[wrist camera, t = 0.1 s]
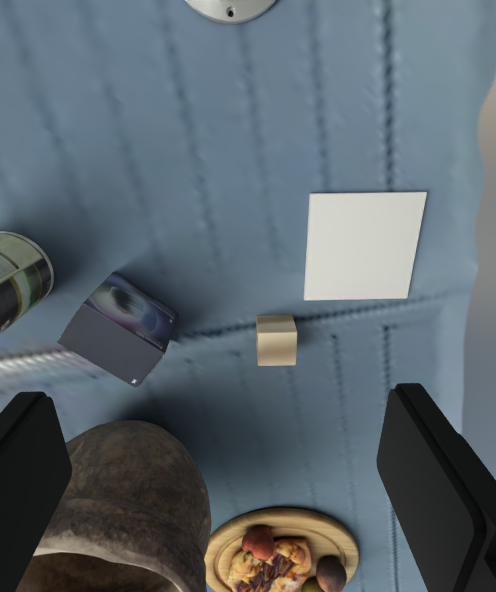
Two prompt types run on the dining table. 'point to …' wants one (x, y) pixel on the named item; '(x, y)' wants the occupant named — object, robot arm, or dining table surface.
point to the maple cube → (276, 340)
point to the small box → (121, 330)
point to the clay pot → (126, 517)
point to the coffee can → (21, 276)
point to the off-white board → (361, 244)
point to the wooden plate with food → (281, 553)
